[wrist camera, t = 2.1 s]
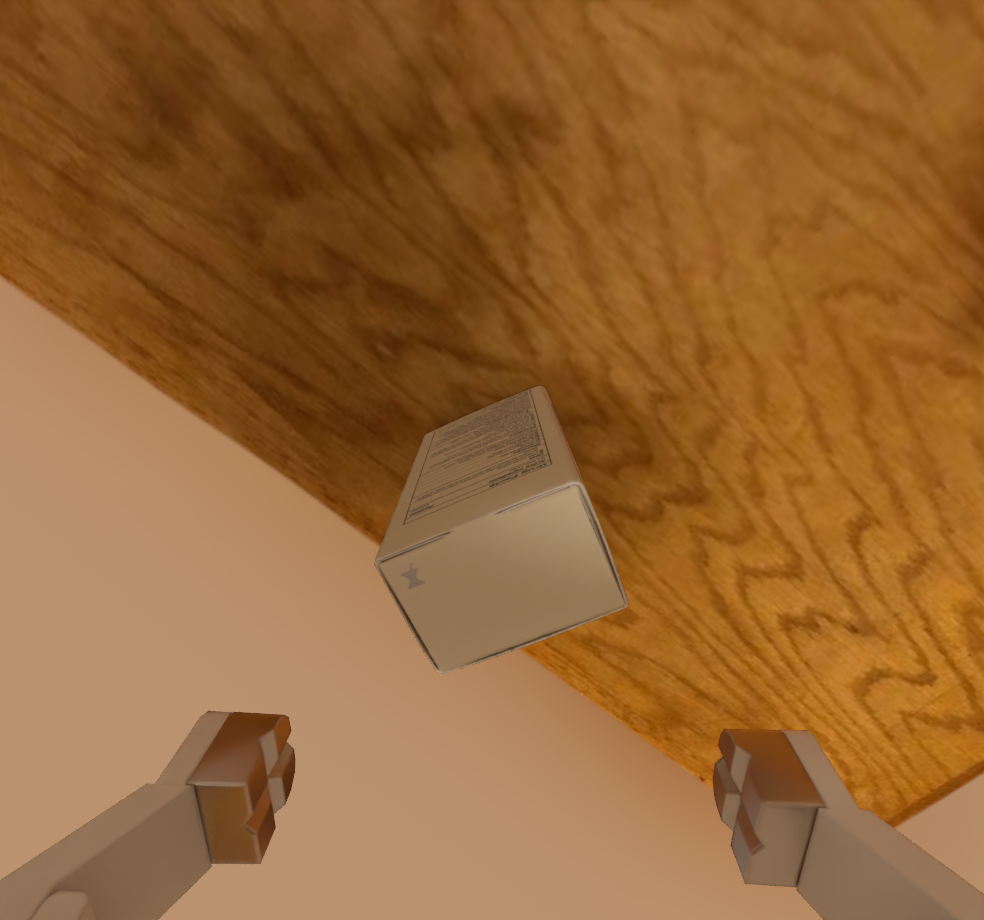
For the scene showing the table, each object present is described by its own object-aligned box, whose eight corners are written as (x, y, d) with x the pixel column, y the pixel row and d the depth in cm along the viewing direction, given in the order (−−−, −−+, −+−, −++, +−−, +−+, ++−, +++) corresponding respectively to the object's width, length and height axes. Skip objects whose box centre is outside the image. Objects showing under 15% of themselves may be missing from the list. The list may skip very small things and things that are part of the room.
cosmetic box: (460, 509, 28) (428, 685, 17) (422, 431, 27) (358, 565, 16) (583, 461, 27) (637, 614, 16) (549, 378, 26) (581, 479, 15)
